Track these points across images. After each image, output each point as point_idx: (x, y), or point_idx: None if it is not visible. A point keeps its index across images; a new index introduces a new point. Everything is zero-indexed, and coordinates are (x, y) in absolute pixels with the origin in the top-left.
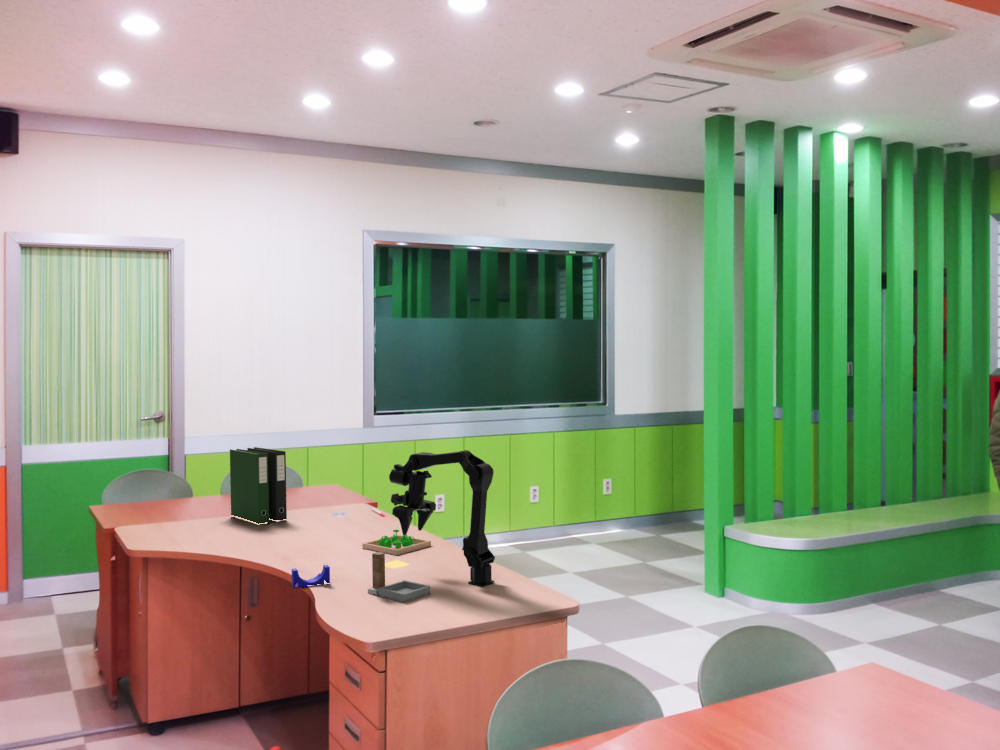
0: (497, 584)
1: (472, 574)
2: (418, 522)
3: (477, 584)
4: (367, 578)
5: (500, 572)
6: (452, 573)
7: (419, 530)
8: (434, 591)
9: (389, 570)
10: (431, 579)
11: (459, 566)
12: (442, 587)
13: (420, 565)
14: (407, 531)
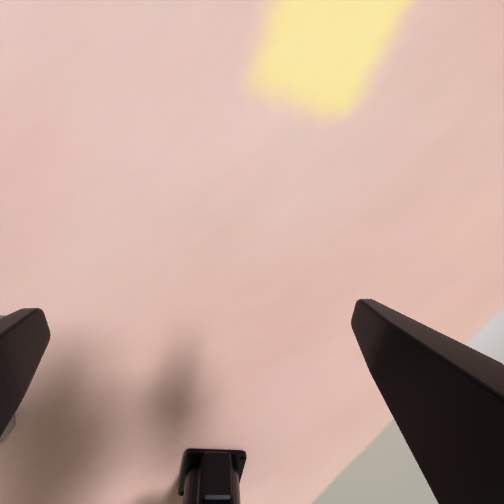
0: None
1: (198, 483)
2: (425, 358)
3: (180, 480)
4: (9, 60)
5: (341, 450)
6: (277, 351)
7: (353, 312)
8: (49, 419)
9: (205, 84)
10: (171, 334)
11: None
12: (106, 414)
13: (342, 179)
14: (20, 396)
